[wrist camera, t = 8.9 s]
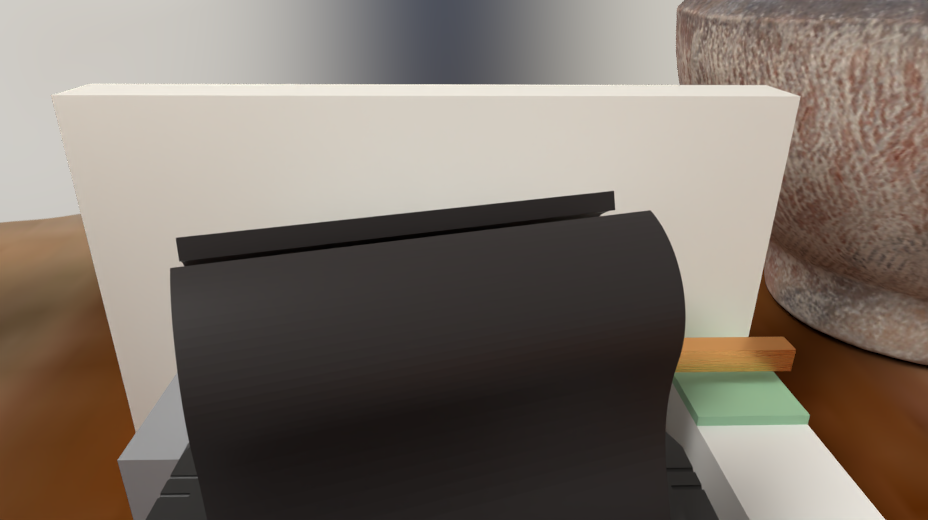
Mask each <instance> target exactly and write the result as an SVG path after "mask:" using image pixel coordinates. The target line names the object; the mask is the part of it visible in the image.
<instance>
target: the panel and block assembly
mask: <svg viewBox="0 0 928 520" xmlns="http://www.w3.org/2000/svg"><path fill="white" fill-rule="evenodd" d="M51 97H52V101H53V105H54V109H55V113H56V117H57V121H58V125H59V129H60V133H61V136H62V140H63V144H64V149H65V153H66V156H67V161H68V165H69V169H70V172H71V176H72V180H73V184H74V188H75V192H76V196H77V200H78V204H79V208H80V212H81V216H82V220H83V224H84V228H85V232H86V236H87V240H88V244H89V248H90V252H91V256H92V260H93V264H94V268H95V272H96V276H97V280H98V284H99V288H100V292H101V296H102V299H103V303H104V307H105V311H106V315H107V319H108V323H109V327H110V331H111V335H112V339H113V343H114V347H115V351H116V355H117V359H118V363H119V367H120V371H121V375H122V379H123V383H124V387H125V391H126V395H127V399H128V403H129V407H130V411H131V415H132V419H133V422H134V426H135V430H136V434H135V435H134V437H133V438H132V440H131V441H130V443H129V444H128V445H127V447H126V448H125V450H124V451H123V453H122V454H121V456H120V457H119V459H118V460H117V461H118V464H119V468H120V472H121V475H122V479H123V483H124V486H125V490H126V494H127V497H128V501H129V505H130V508H131V512H132V516H133V519H134V520H146V518H147V516H148V514H149V512H150V511H151V509H152V507H153V505H154V504H155V502H156V500H157V498H160V493H161V491H162V489H163V487H164V486H165V484H166V482H167V480H170V475H171V473H172V471H173V470H174V468H175V466H176V464H177V462H178V461H179V459H180V457H181V455H182V453H184V452H185V451H186V450H187V449H188V448H189V447H190V444H189V439H188V434H187V429H186V424H185V419H184V413H183V407H182V401H181V394H180V387H179V380H178V373H177V365H176V356H175V347H174V337H173V326H172V313H171V295H170V268H174V267H182V266H184V265H183V263H182V262H181V261H180V262H179V257H178V250H177V244H176V238H178V237H187V236H197V235H206V234H215V233H225V232H234V231H243V230H253V229H262V228H271V227H281V226H290V225H299V224H309V223H318V222H327V221H337V220H346V219H355V218H365V217H374V216H383V215H393V214H402V213H411V212H421V211H430V210H439V209H449V208H458V207H467V206H477V205H486V204H495V203H505V202H514V201H523V200H533V199H542V198H551V197H561V196H570V195H579V194H589V193H598V192H607V191H614V198H615V210H612V211H608V212H605V213H603V214H602V215H600V216H607V215H615V214H623V213H632V212H640V211H648V210H651V211H652V212H653V214H654V215H655V216H656V218H657V219H658V221H659V222H660V224H661V225H662V227H663V229H664V230H665V232H666V234H667V236H668V238H669V241H670V243H671V245H672V248H673V250H674V253H675V256H676V259H677V262H678V265H679V269H680V273H681V278H682V283H683V289H684V297H685V311H686V323H685V335H684V338H699V337H749V332H750V327H751V323H752V318H753V314H754V309H755V304H756V300H757V295H758V290H759V286H760V281H761V277H762V272H763V267H764V263H765V258H766V254H767V249H768V244H769V240H770V235H771V230H772V226H773V221H774V217H775V212H776V207H777V203H778V198H779V194H780V189H781V184H782V180H783V175H784V170H785V166H786V161H787V157H788V152H789V147H790V143H791V138H792V134H793V129H794V124H795V120H796V115H797V110H798V106H799V101H800V97H801V96H798V95H795V94H792V93H789V92H786V91H783V90H780V89H776V88H773V87H770V86H767V85H443V84H442V85H440V84H439V85H437V84H433V85H432V84H425V85H424V84H420V85H419V84H417V85H415V84H414V85H413V84H409V85H408V84H395V85H394V84H87V85H84V86H81V87H77V88H74V89H71V90H67V91H64V92H60V93H57V94H54V95H51ZM809 417H810V415H809V413H808V412H807V411H806V410H805V409H804V408H803V406H802V405H801V404H800V403H799V402H798V400H797V399H796V398H795V397H794V396H793V394H792V393H791V392H790V391H789V390H788V388H787V387H786V386H785V385H784V384H783V383H782V381H781V380H780V379H779V378H778V377H777V375H776V374H775V373H774V372H773V371H755V372H675V374H674V377H673V381H672V385H671V390H670V394H669V400H668V407H667V416H666V432H667V433H668V434H669V435H670V436H671V437H672V438H673V439H675V440H676V441H677V442H678V443H679V444H680V445H681V446H682V447H683V449H684V451H685V453H686V455H687V457H688V459H689V461H690V463H691V465H692V467H693V472H695V473H696V475H697V477H698V479H699V481H700V483H701V485H702V490H704V491H705V493H706V495H707V497H708V499H709V501H710V503H711V505H712V507H713V509H714V510H715V512H716V514H717V516H718V518H719V520H885V519H884V517H883V516H882V515H881V514H880V513H879V511H878V510H877V509H876V508H875V506H874V505H873V504H872V503H871V502H870V500H869V499H868V498H867V497H866V495H865V494H864V493H863V492H862V491H861V489H860V488H859V487H858V486H857V484H856V483H855V482H854V481H853V480H852V478H851V477H850V476H849V475H848V473H847V472H846V471H845V470H844V469H843V467H842V466H841V465H840V464H839V462H838V461H837V460H836V459H835V458H834V456H833V455H832V454H831V453H830V451H829V450H828V449H827V448H826V446H825V445H824V444H823V443H822V442H821V440H820V439H819V438H818V437H817V435H816V434H815V433H814V432H813V431H812V429H811V428H810V427H809V426H808V421H809Z"/></svg>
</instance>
